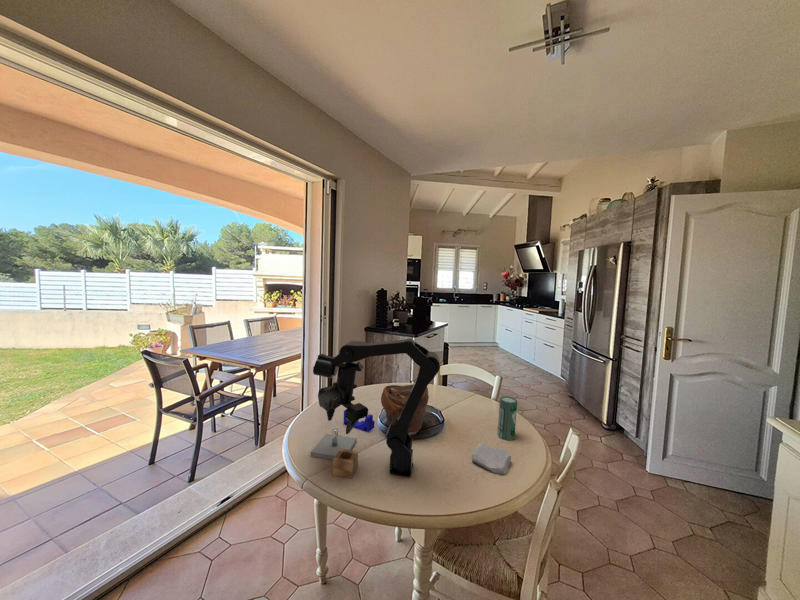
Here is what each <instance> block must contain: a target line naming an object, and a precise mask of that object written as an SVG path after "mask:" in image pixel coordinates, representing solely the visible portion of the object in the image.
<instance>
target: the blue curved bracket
mask: <svg viewBox="0 0 800 600" xmlns="http://www.w3.org/2000/svg"><path fill="white" fill-rule="evenodd" d="M373 415H374V414H371V413H368V415H367V416H366V417H364V420H361V421H359V420H358V421H357V423H356V424H355V426H354V427H353V428H354V429H356V430H360V431H363V432H365V433H369V432H371V431H372V430H373V429H375V424H376V423H375V420H374V416H373ZM345 416H347V415H346V409H344V410H343V425H345V426H346V425H347V419H346V418H345ZM353 428H352V429H353Z"/></svg>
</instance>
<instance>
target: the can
mask: <svg viewBox="0 0 800 600" xmlns="http://www.w3.org/2000/svg"><path fill="white" fill-rule="evenodd" d="M498 406H499V407H498V419H497V420H498V421H497V423H498V424H497V436H498V438H500V439H501V440H504V441H514V439H515V438H516V436H515V435H516V423H517V411H518V400H517V399H516V398H515V397H512V396H508V395H505V396H500V398H499V405H498Z"/></svg>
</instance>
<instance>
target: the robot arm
mask: <svg viewBox="0 0 800 600" xmlns="http://www.w3.org/2000/svg"><path fill="white" fill-rule="evenodd" d="M401 354H406V355H407V356H408V357H409V358H410V359H412V362H414V363H415V365H417V366H418V367H419V368H418V372H417V377H416V379H415V382H414V385H413V384H412V385H413V388H412V390H411V392H410V394H409V397H408V399H407V401H406V403H405V405H404V408H403V410H402V412H401V414H400V416H399V417H398V418H397V419H396V418H395V417H393V419H392V422H391V424H390V425H389V427H387V431H386V433H385V436H384V437H385V438H386V441H385V442H386V443H385V444H386V445H387V447H388V449H390V451H391V453H390V455H389V469H390V471H389V474H390V475H396V476H401V477H402V476H403V477H408V478H410V477H412V471H413V467H414V463H413V456H414V455H413V454H414V449H413V440H414V438H413V437H412V436H410V435H409V434H408V428H409V424H410V422H411V420H412V418H413V416H414V413H415V411H416V409H417V407H418V405H419V403H420V400H421V398H422V396H423V394H424V392H425V389H426V387H427V388H428V385H429V384H430V383H431V382H432V381H433V380H434V378H435V377H436V376H437V374H438V373H439V371H440V368H441V362H440V360H441V359H440V356H439V354H437V353H436V352H434V351H429V350H428V349H427V348H426V347H425V346H423V345H421V344H419V343H418V342H416V341H415V340H414V339H412V338H409V337H408V338H405V339H397V340H396V339H395V340H386V341H385V340H384V341H378V342H377V341H376V342H365V341H362V340H361V341H360V340H359V341H358V340H350V341H348V342H346V343H345V344H344V345H342V346H341V347H340V349H339V352H338V353H337V355H336V356H330V355H326V354H325V353H324V354H323V353H319V354H318V355H317V358H316V360H315V363H314V365H313V368H312V374H313V375H315V376H318V377H319V376H320V377H324V378H329V379H333V377H336V375H337V377H336V381H335V382H333V383H332V385H329V386H326V387H325V386H324V387H321V388H320V389H319V390H318V393H317V400H318V404H319V407H320V408H322V409H323V410H324V411H326V416H327V421H328V422H330V421H332V420H333V417H334V414H335V412H336V409H337V408H338V407H340V406H343V407H344V408H346V409H345V410H346V415H347V416H345V418H346V419H347V425H345V434H346V435H348V434H351V432H352V430H353V427H354V426H355V424H356V423H357V421H359V420H362V419H363V418H364V419H365V417H366V416H368V415H369V408H368V407H367V406H365V405H364V404H363V403H360V402H358V403H352V401H355V400H356V398H355V396H354V395H353V394H354V389H357V387H358V384H355V383H356V377H357V372H362V371H363V369H364V367H365V366H364V365H363V364H362V363H361V362H360V361H362V360H365V359H366V358H371V357H380V356H389V355H391V356H392V355H401Z"/></svg>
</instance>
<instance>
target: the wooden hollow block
mask: <svg viewBox="0 0 800 600" xmlns="http://www.w3.org/2000/svg"><path fill="white" fill-rule="evenodd" d="M358 466H359V451H358V450H353V449H352V450H346V449H340V450H339V452H338V453H337V455H336V456H335V457H334V459H333V460H332V476H333V477H340V478H346V479H347V478H348V479H352V478H353V476H354V475H355V472H356V471H357V469H358Z"/></svg>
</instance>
